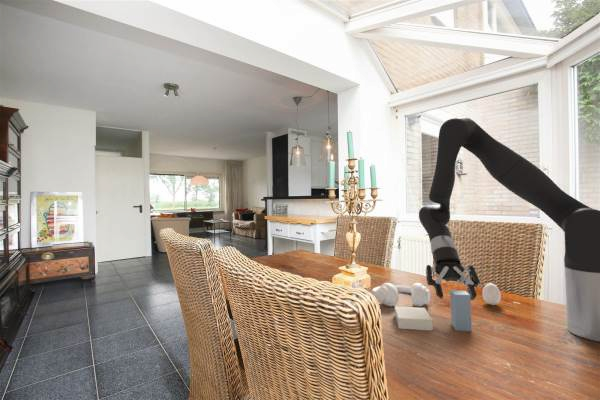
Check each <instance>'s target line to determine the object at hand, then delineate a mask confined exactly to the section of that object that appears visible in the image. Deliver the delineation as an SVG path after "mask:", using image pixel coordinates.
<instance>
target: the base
mask: <svg viewBox="0 0 600 400" xmlns="http://www.w3.org/2000/svg"><path fill="white" fill-rule="evenodd" d="M394 317H395V320H396V323H397V327H398V329H399V330H400V329H402V330H419V331H433V319H432V317H431V316H430V315H429V312H428V311H427V309H426V307H418V306H415V307H414V306H413V307H412V306H396V305H394Z"/></svg>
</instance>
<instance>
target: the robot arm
mask: <svg viewBox="0 0 600 400" xmlns="http://www.w3.org/2000/svg"><path fill="white" fill-rule="evenodd" d="M461 148H464V149H466V151H468V152H470V153H472V155H474V156H475V157H476V158H478V160H479V161H480V162H481V164H482V165H483V167H484V168H485V170H486V171H487V172H488V173H489V175H490V176H491V177H492V178H493V179H495V180H496V181H497V182H498V183H500V184H501V185H502V186H503V187H505V188H506V189H507V190H509V191H510V192H511V193H513V194H514V195H516V196H518V198H521V200H522V199H523V200H524V201H526V202H527V203H529V204H531V205H533V206H534V207H536V208H538V209H539V210H540V211H542V212H543V214H545V215H546V216H548V217H549V218H550V219H551V221H553V223H555V224H556V225H557V226H558V227H559V228H560V229H561V230H562V231H563V233H564V256H563V257H564V258H563V261H564V265H563V266H564V280H565V283H564V284H565V286H564V287H565V301H566V302H565V304H566V305H565V308H566V329H567V331H568V332H570V333H571V334H573V335H576V336H578V337H580V338H584V339H587V340H589V341H590V340H591V341H596V342H600V210H599V209H595V208H593V207H589V206H588V205H587V204H585V203H583V202H581V201H579V200H578V199H576V198H574V197H573V196H572V195H569V194H568V193H567V192H565V191H564V190H562V189H561V188H560V186H558V184H557V183H555V182H554V181H553V180H552V179H551V178H550V177H549V176H548V175H547V174H546V173H545V172H543V170H541V169H540V168H539V167H538V166H536V165H535V164H534V163H532V162H530V161H529V160H527V158H525V157H524V156H522V155H520V154H518V153H517V152H516V151H514V150H513V149H512V148H510V147H508V146H507V145H505V144H503V143H501V142H499V141H498V140H496V139H495V138H494V137H492V136H491V135H490V134H489V133H488V132H487V131H485V130H484V129H483V128H482V126H480V125H479V124H478V123H476V122H475V121H474V120H473V119H471V118H470V117H467V116H460V117H452V118H449V119H447V120H446V121H444V123H442V125H441V126H440V128H439V132H438V142H437V155H436V162H435V169H434V174H433V178H432V183H431V185H430V190H429V195H428V199H429V201H431V202H432V203H435V204H437V205H439V206H431V205H428V206H427V205H425V206H422V207H421V208H420V209H419V211H418V219H419V222H420V225H422V226H423V228H424V230H425V232H426V234H427V235H428V238H429V239H428V240H429V242H430V250H431V252H430V253H431V254H432V257H433V261H434V266H431V265H430V264H427V265H426V267H425V275H426V276H425V277H426V283H427V285H428V286H433V287H434V289H435V294H436V297H439V298H438V299H439V300H440V299H441V300H442V299H443V298H444V294H443V288H442V285H441V284H442V282H443V281H446V282H449V281H450V282H459V283H460V284H462V285H464V286H465V287H466V288H467V293H468V294H470V301H474V300H475V299H476V298H477V295H478V294H477V291H476V289H475V288H478V286H479V284H480V278H479V275H478V274H477V272H476V270H475V269H476V268H475V267H474V266H473V265H469V267H464V266H463V265H462V263H461V259H460V256H459V254H458V253H459V252H458V250H457V247H456V244H455V242H454V240H453V236H452V234H451V231H450V228H449V227H448V226H447V225H448V223H449V222H450V220H451V209H450V208H451V207H450V205H451V197H452V193H453V189H454V186H455V183H456V182H455V181H456V163H457V158H458V155H459V153H460V150H461ZM434 272H435V273H436V274H437V275H438V276H437V278H436V279H434V278H433V274H434ZM465 273H466V274H465ZM468 276H469V277H468Z"/></svg>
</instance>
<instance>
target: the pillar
mask: <svg viewBox="0 0 600 400" xmlns="http://www.w3.org/2000/svg"><path fill="white" fill-rule="evenodd" d="M449 298H450V299H449V300H450V302H449V303H450V321H451V322H450V324H451V325H452V327H453V328H454V330H455V331H465V332H472V331H473V330H472V305H471V304H472V303H471V301H472V300H471V299H470V294H469V293H468V291H466V290H461V289H460V290H458V289H456V290H454V289H450V290H449Z"/></svg>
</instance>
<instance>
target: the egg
mask: <svg viewBox="0 0 600 400" xmlns="http://www.w3.org/2000/svg"><path fill="white" fill-rule="evenodd" d="M481 292H482V298H483V301H485V303H487V304H489V305H490V306H496V305H499V303H500V302H501V298H502V294H501V291H500V289H499V288H498V286H497V285H496V284H495V283H492V282H490V283H489V282H488V283H486V284H485V285H484V287H483V288H482V291H481Z"/></svg>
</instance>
